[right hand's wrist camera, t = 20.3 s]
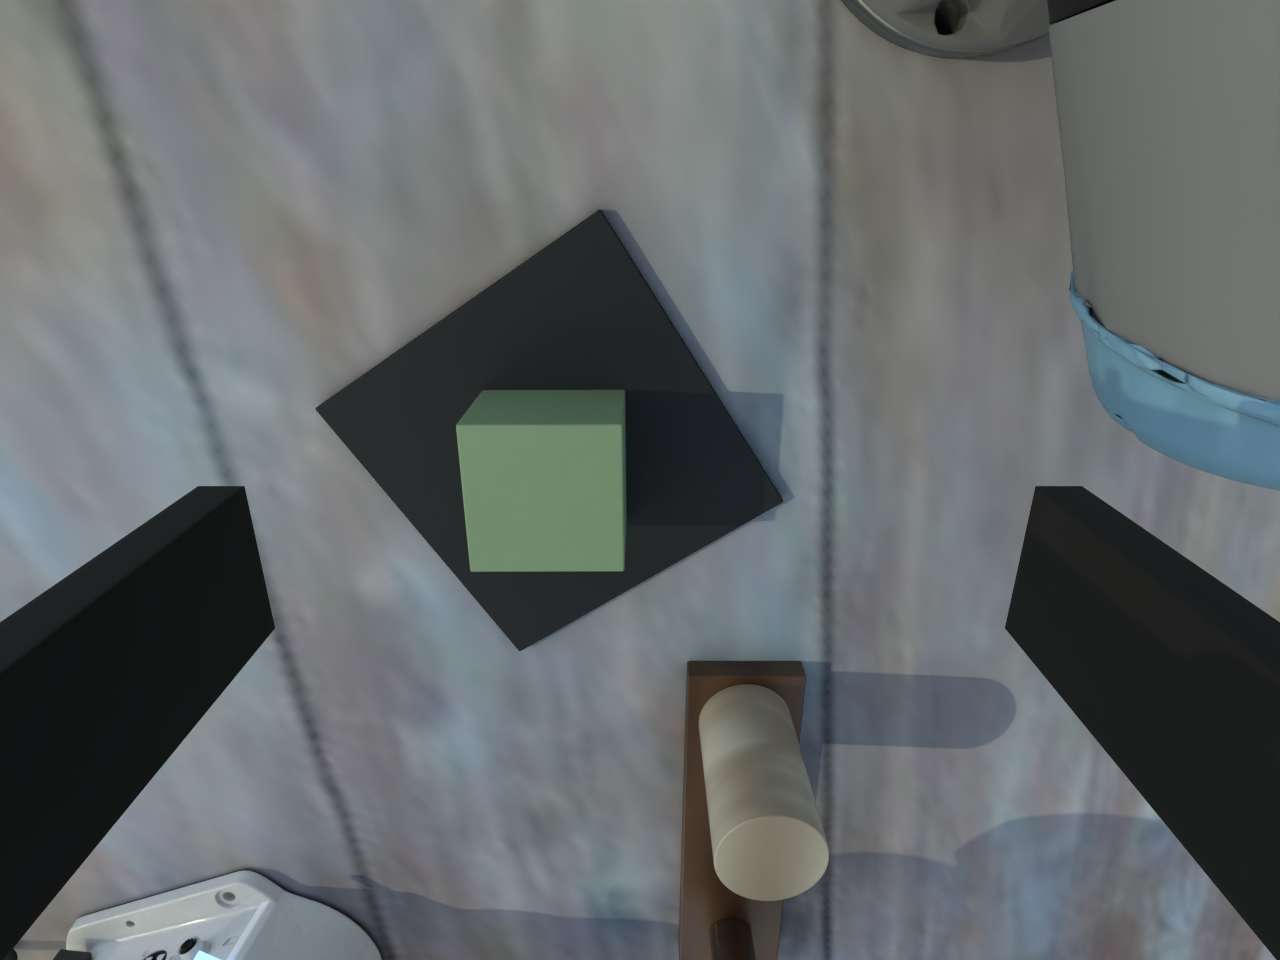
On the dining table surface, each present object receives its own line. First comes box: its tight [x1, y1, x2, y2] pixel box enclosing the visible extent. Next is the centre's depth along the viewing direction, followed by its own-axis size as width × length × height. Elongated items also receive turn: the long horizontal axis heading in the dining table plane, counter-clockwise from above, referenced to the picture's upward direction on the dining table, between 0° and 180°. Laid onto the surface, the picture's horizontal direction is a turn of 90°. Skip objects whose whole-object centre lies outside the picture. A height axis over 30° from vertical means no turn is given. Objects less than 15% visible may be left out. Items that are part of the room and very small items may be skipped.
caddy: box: [679, 662, 829, 960], centre depth 45 cm, size 7×25×12 cm, turn 0°
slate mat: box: [316, 210, 783, 651], centre depth 40 cm, size 18×18×1 cm
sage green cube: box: [456, 390, 626, 572], centre depth 37 cm, size 7×7×6 cm
